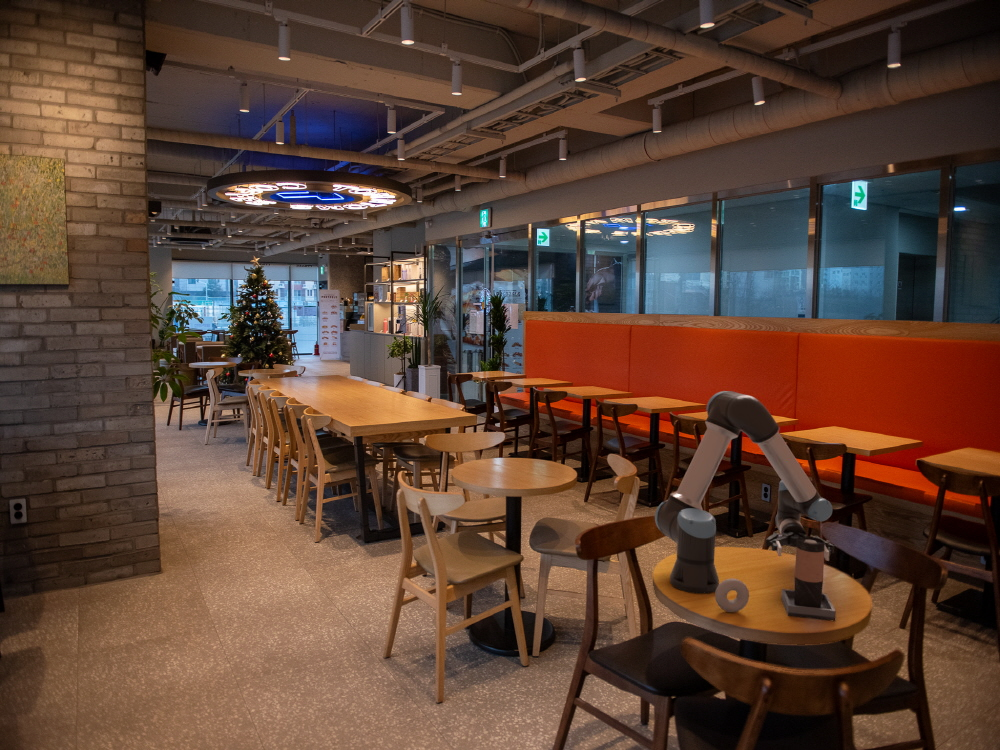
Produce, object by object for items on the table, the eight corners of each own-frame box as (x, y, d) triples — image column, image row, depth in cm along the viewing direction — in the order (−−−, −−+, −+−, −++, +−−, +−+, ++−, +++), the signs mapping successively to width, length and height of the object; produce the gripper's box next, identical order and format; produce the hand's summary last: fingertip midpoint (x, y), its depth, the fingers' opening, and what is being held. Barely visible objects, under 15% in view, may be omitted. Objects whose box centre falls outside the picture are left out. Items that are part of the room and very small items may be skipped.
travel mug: (819, 613, 198) (823, 546, 196) (791, 607, 202) (794, 541, 200) (822, 604, 205) (826, 538, 203) (795, 598, 209) (798, 534, 207)
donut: (745, 609, 203) (747, 576, 202) (750, 614, 200) (752, 581, 199) (712, 609, 202) (713, 576, 201) (716, 614, 199) (718, 581, 198)
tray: (787, 615, 199) (788, 605, 199) (781, 598, 211) (781, 588, 211) (835, 621, 196) (835, 610, 195) (825, 603, 208) (826, 593, 208)
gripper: (832, 547, 229) (847, 570, 208) (753, 540, 235) (760, 561, 215) (833, 525, 228) (848, 546, 208) (754, 518, 234) (761, 538, 214)
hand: (803, 554), depth 211 cm, fingers open, 13 cm apart
